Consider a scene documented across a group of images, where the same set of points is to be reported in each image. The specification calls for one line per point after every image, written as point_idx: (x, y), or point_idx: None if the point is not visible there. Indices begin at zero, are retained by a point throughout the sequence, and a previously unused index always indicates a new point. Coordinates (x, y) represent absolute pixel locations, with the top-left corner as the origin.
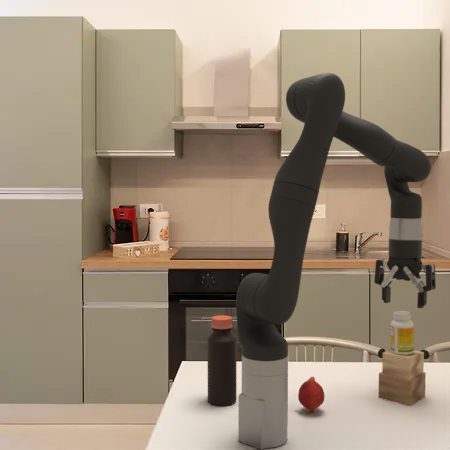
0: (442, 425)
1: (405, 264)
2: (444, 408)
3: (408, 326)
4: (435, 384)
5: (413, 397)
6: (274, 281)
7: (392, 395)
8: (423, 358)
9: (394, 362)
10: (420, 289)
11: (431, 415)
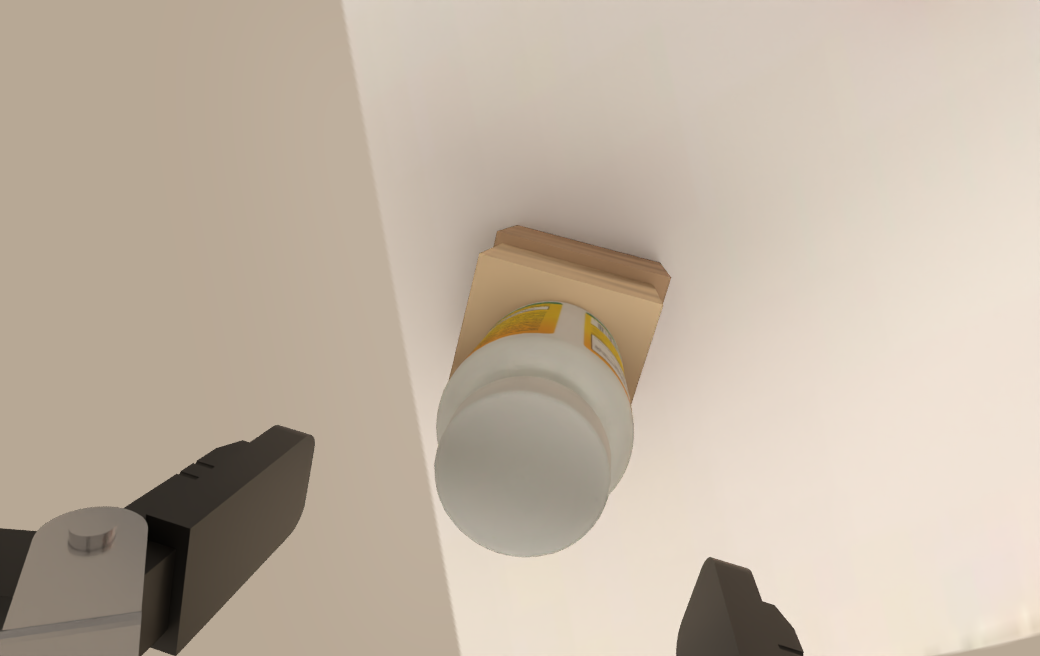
0: (366, 79)
1: None
2: (393, 266)
3: (463, 362)
4: None
5: None
6: None
7: (594, 247)
8: None
9: (583, 276)
10: (90, 527)
11: (422, 164)
